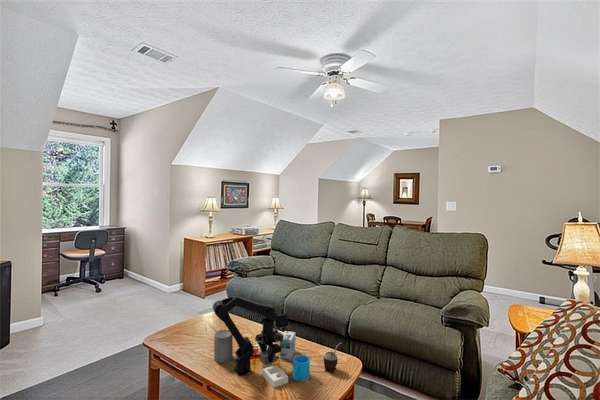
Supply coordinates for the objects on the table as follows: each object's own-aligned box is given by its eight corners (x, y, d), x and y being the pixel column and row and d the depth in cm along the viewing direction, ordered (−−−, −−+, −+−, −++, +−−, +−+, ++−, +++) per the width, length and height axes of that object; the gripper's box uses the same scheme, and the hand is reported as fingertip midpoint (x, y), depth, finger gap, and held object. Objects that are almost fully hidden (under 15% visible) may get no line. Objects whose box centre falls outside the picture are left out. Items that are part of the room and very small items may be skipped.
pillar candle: (223, 352, 176) (223, 325, 176) (236, 357, 171) (236, 329, 171) (210, 360, 168) (210, 332, 167) (223, 365, 163) (223, 336, 162)
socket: (273, 387, 144) (273, 379, 144) (262, 375, 154) (262, 367, 154) (288, 382, 148) (288, 375, 148) (275, 370, 158) (275, 363, 158)
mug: (297, 369, 160) (298, 353, 160) (312, 373, 156) (312, 357, 156) (286, 381, 149) (286, 364, 149) (301, 386, 145) (301, 369, 145)
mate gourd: (321, 367, 161) (321, 338, 161) (334, 364, 165) (334, 336, 165) (328, 375, 155) (328, 345, 154) (341, 372, 158) (342, 342, 158)
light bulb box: (291, 360, 169) (291, 340, 169) (279, 358, 170) (279, 338, 170) (295, 350, 179) (295, 331, 179) (284, 349, 181) (284, 330, 181)
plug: (264, 370, 158) (264, 357, 158) (259, 365, 163) (259, 352, 163) (275, 366, 162) (275, 354, 162) (270, 362, 166) (270, 349, 166)
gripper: (290, 332, 159) (290, 363, 159) (273, 320, 174) (273, 348, 175) (271, 337, 153) (270, 369, 153) (255, 324, 168) (254, 353, 169)
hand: (267, 359), depth 162 cm, fingers open, 6 cm apart
